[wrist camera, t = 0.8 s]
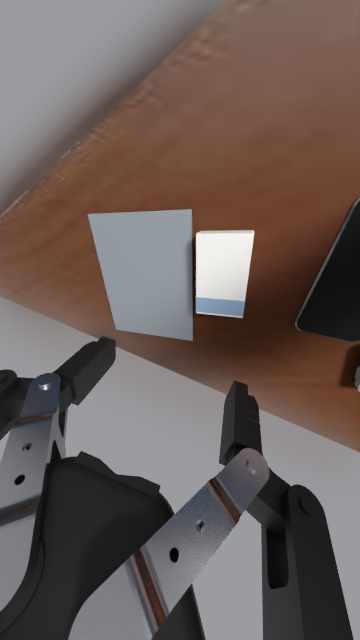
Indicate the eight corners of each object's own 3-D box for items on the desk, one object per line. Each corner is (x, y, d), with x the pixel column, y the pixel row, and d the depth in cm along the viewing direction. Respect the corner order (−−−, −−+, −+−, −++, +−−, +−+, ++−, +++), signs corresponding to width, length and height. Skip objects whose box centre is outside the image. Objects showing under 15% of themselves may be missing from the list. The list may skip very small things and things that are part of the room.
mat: (191, 209, 22) (190, 209, 21) (193, 339, 31) (192, 341, 30) (89, 214, 26) (87, 214, 25) (117, 328, 35) (116, 329, 34)
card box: (201, 230, 23) (195, 233, 20) (254, 230, 21) (254, 233, 19) (200, 304, 27) (195, 313, 25) (243, 308, 26) (242, 318, 23)
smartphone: (473, 198, 15) (360, 345, 23) (465, 198, 16) (357, 342, 24) (362, 188, 17) (291, 329, 25) (358, 188, 17) (290, 326, 25)
